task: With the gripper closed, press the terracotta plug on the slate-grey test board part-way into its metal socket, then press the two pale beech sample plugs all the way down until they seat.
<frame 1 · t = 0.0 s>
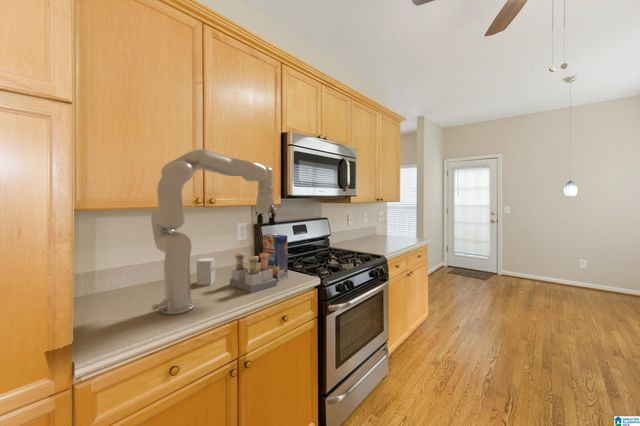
hand: (265, 224, 150), 31 cm above the counter, fingers open, 9 cm apart
terracotta plug: (264, 262, 149), point 12 cm above the counter, slide at 0.0 cm
supplement box: (206, 283, 152), on the counter
test board: (253, 284, 149), on the counter
beech plug near: (253, 265, 141), point 12 cm above the counter, slide at 0.0 cm
beech plug far: (239, 261, 149), point 12 cm above the counter, slide at 0.0 cm
juice carton: (275, 277, 162), on the counter
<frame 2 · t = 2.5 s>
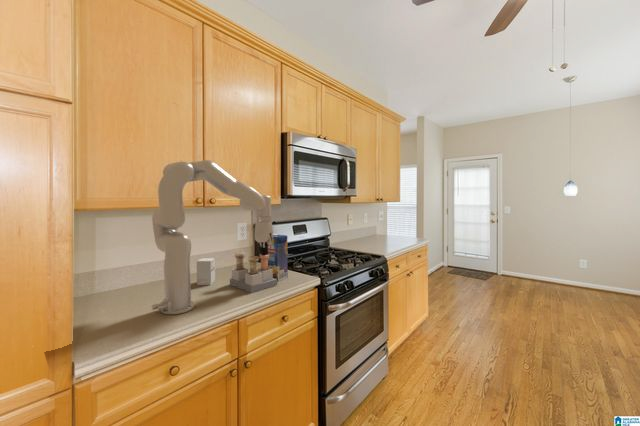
hand: (264, 254, 149), 16 cm above the counter, fingers closed
terracotta plug: (264, 263, 149), point 11 cm above the counter, slide at 0.4 cm, touching gripper
everything else where it was.
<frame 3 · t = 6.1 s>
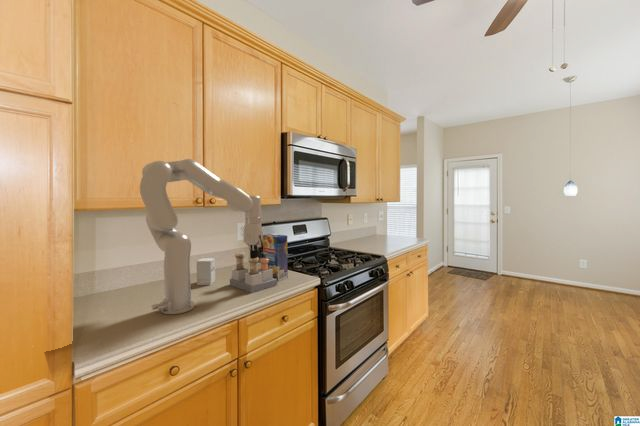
hand: (253, 257, 141), 16 cm above the counter, fingers closed
terracotta plug: (264, 267, 149), point 9 cm above the counter, slide at 2.5 cm
beech plug near: (253, 266, 141), point 11 cm above the counter, slide at 0.4 cm, touching gripper
everything else where it was.
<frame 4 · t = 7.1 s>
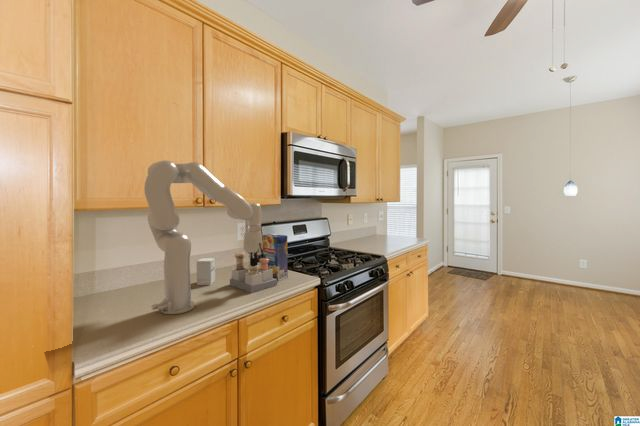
hand: (253, 265, 141), 12 cm above the counter, fingers closed
beech plug near: (253, 274, 142), point 8 cm above the counter, slide at 4.2 cm, touching gripper
everything else where it was.
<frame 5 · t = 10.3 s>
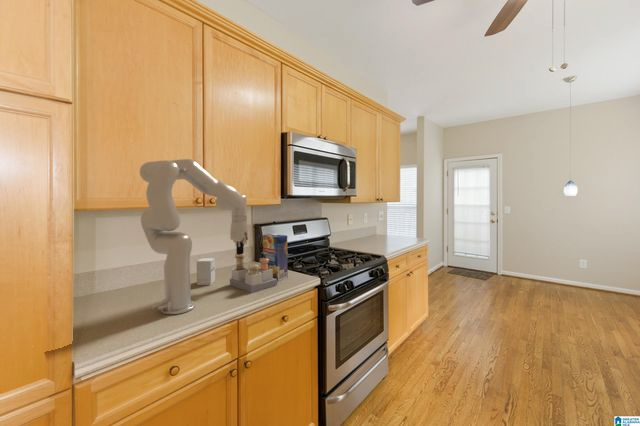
hand: (240, 253, 149), 16 cm above the counter, fingers closed
beech plug near: (253, 274, 142), point 8 cm above the counter, slide at 4.2 cm
beech plug far: (239, 262, 149), point 12 cm above the counter, slide at 0.2 cm, touching gripper
everything else where it was.
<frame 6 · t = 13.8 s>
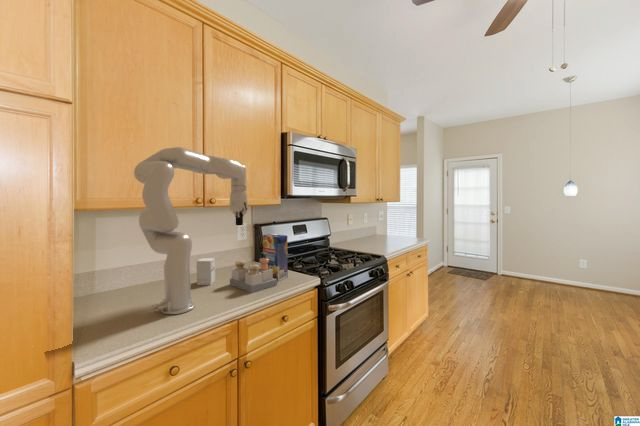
hand: (239, 224, 148), 31 cm above the counter, fingers closed
beech plug far: (240, 269, 150), point 8 cm above the counter, slide at 4.2 cm
everything else where it was.
at the end: terracotta plug slide at 2.5 cm; beech plug near slide at 4.2 cm; beech plug far slide at 4.2 cm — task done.
